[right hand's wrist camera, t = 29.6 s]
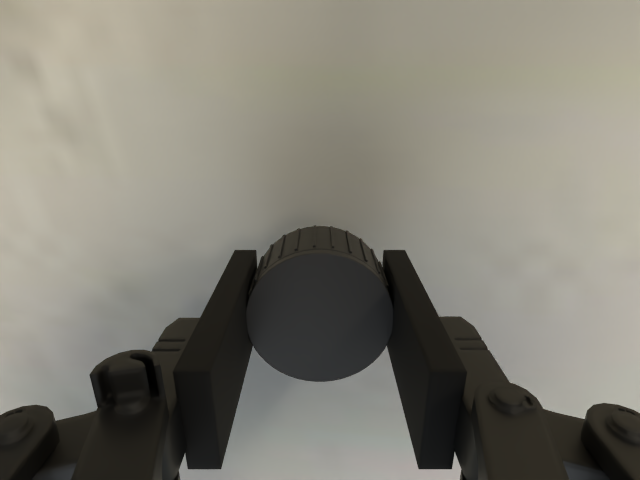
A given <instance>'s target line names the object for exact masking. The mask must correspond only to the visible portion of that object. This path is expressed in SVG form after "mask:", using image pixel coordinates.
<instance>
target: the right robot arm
mask: <svg viewBox="0 0 640 480" xmlns="http://www.w3.org/2000/svg"><path fill="white" fill-rule="evenodd" d="M256 269H257V256H256V250H235V251H234V253H233V255H232V257H231V259H230V261H229V263H228V265H227V267H226V269H225V271H224V272H223V274H222V276H221V278H220V280H219V282H218V284H217V286H216V288H215V290H214V292H213V294H212V296H211V298H210V300H209V302H208V304H207V306H206V308H205V310H204V311H203V313H202V315H201V317H200V318H178V319H177V320H176V321H174V322H173V323H172V324H170V325H169V326H168V327H166V328H165V330H164V332H163V333H162V335H161V336H160V338H159V341H158V342H157V343H156V344H155V346H154V347H153V349H152V352H150V351H146V350H130V351H126V352H122V353H118V354H116V355H114V356H111V357H109V358H107V359H105V360H104V361H102V362H101V363H100V364H98V365H97V366H96V367H95V368H94V369H93V371H92V372H91V373H90V378H91V382H92V386H93V390H94V394H95V398H96V402H97V406H98V408H97V411H94V412H91V413H87V414H84V415H79V416H75V417H71V418H66V419H62V420H58V421H55V418H54V415H53V412H52V411H51V410H50V409H49V408H48V407H45V406H40V405H31V406H23V407H20V408H17V409H13V410H11V411H8V412H5V413H4V414H2V415H0V480H180V476H179V468H180V465H181V462H182V460H183V457H184V454H185V453H186V460H187V466H188V469H221V467H222V463H223V459H224V456H225V452H226V448H227V444H228V440H229V436H230V432H231V428H232V424H233V420H234V417H235V413H236V409H237V405H238V401H239V397H240V393H241V389H242V385H243V381H244V378H245V374H246V370H247V366H248V362H249V358H250V354H251V350H252V346H253V344H252V343H251V340H250V338H249V335H248V330H247V318H246V306H247V302H248V299H249V297H248V293H249V290H250V287H251V284H252V281H253V278H254V275H255V272H256ZM383 271H384V273H385V276H386V279H387V282H388V285H389V287H388V291H389V293H390V296H391V299H392V303H393V308H394V312H393V326H392V334H391V337H390V339H389V342H388V344H387V347H388V351H389V355H390V359H391V363H392V367H393V371H394V375H395V379H396V383H397V386H398V390H399V394H400V398H401V402H402V406H403V410H404V414H405V418H406V422H407V425H408V429H409V433H410V437H411V441H412V445H413V449H414V453H415V457H416V460H417V464H418V468H419V469H452V464H453V458H454V452H455V453H456V456H457V458H458V461H459V464H460V466H461V469H462V470H461V476H460V480H640V413H638V412H636V411H634V410H632V409H629V408H626V407H623V406H620V405H615V404H607V403H602V404H596V405H593V406H592V407H591V408H589V409H588V410H587V413H586V417H585V419H581V418H576V417H572V416H568V415H563V414H559V413H555V412H552V411H548V410H545V409H543V408H542V406H541V404H540V403H539V401H538V400H537V398H536V397H535V396H533V395H532V394H531V393H530V392H529V391H527V390H526V389H524V388H522V387H520V386H518V385H516V384H513V383H510V382H509V381H508V379H507V378H506V376H505V374H504V373H503V371H502V370H501V368H500V367H499V365H498V363H497V362H496V360H495V359H494V357H493V356H492V354H491V352H490V351H489V350H488V349H487V346H486V345H485V343H484V341H483V340H481V337H480V335H479V334H478V332H477V330H476V329H475V327H474V326H473V325H471V324H470V323H469V322H467V321H466V320H464V319H463V318H462V317H439V316H438V314H437V312H436V310H435V308H434V306H433V304H432V302H431V300H430V298H429V296H428V294H427V293H426V291H425V289H424V287H423V285H422V283H421V281H420V279H419V277H418V275H417V273H416V271H415V269H414V267H413V265H412V263H411V261H410V259H409V257H408V255H407V253H406V252H405V250H384V251H383Z"/></svg>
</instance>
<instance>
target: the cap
mask: <svg viewBox="0 0 640 480" xmlns="http://www.w3.org/2000/svg"><path fill="white" fill-rule="evenodd" d="M388 287H389V285H388V282H387V279H386V276H385V273H384V271H383V268H382V265H381V262H380V261H379V262H378V260H377V258H376V256H375V254H374V251H373V249H370V248H369V247H368V246H367V245H366V244H365V243H364V242H363V241H362V239H361V238H360V239H359V238H358V237H356V236H354V235H352V234H351V233H349V232H348V231H344V230H341V229H337V228H333V227H332V226H330V227H325V226H314V227H307V228H303V229H300V228H299V229H297V230H296V231H293V232H291V233H289V234H287V235H283V236H282V238H281V239H279V240H278V241H277V242H275V243H274V244H273V245H272V244H271V245H270V249H269V250H268V251H267V252H266V254H265V255H264V257H263V256H262V257H261V260H260V263H259V266H258V269H256V272H255V275H254V278H253V281H252V284H251V287H250V290H249V293H248V297H249V299H248V302H247V306H246V318H247V330H248V335H249V338H250V340H251V343H252V344H253V346H254V348H255V350H256V351H257V352H258V354H259V355H260V356H261V357H262V358H263V359H264V360H265V361H266V362H267V363H268V364H269V365H271V366H272V367H273V368H275V369H277V370H278V371H280V372H282V373H284V374H286V375H288V376H291V377H294V378H297V379H301V380H306V381H315V382H324V381H334V380H338V379H343V378H346V377H349V376H351V375H354V374H356V373H358V372H360V371H361V370H363V369H365V368H366V367H368V366H369V365H370V364H371V363H373V362H374V361H375V360H376V359H377V358H378V357H379V356H380V354H381V353H382V352H383V350H384V349H385V347H386V345H387V344H388V342H389V339H390V337H391V334H392V326H393V312H394V308H393V303H392V299H391V296H390V293H389V291H388Z"/></svg>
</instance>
